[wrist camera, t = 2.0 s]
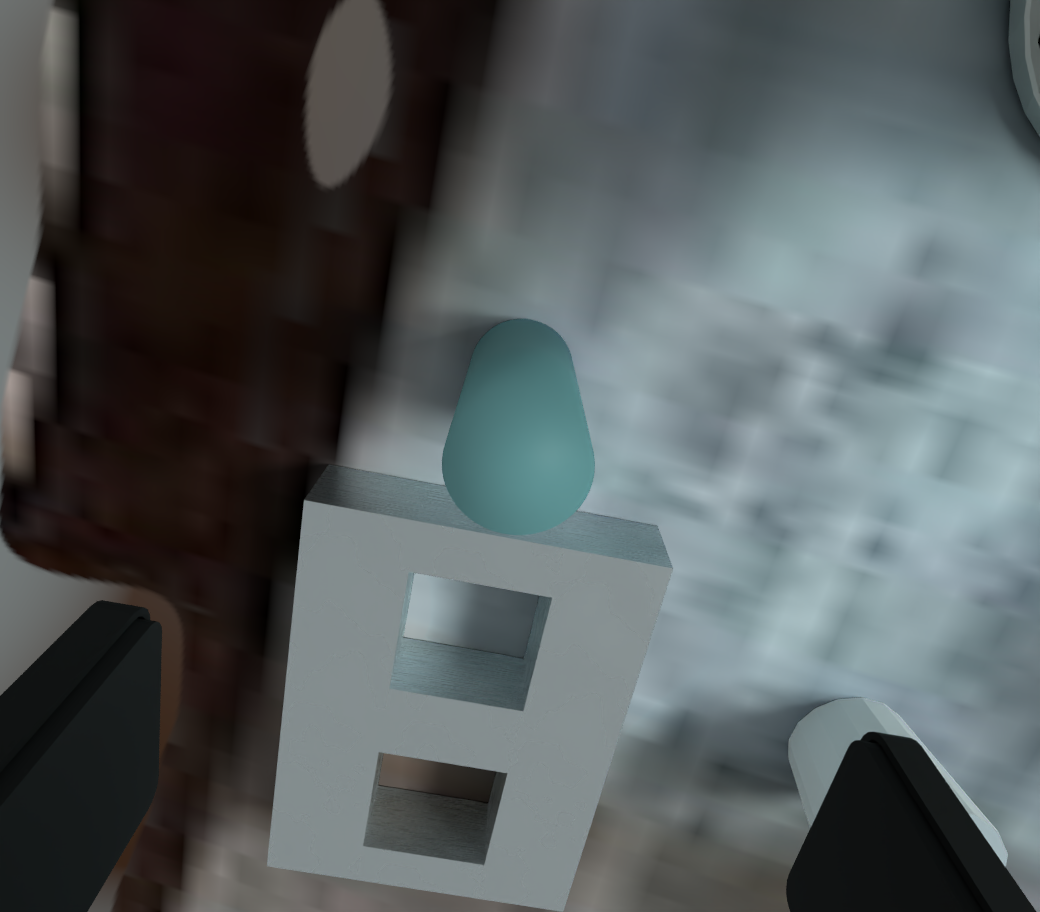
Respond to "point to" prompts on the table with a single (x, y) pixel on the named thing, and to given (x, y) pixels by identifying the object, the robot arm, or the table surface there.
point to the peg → (519, 433)
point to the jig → (454, 692)
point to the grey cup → (828, 739)
